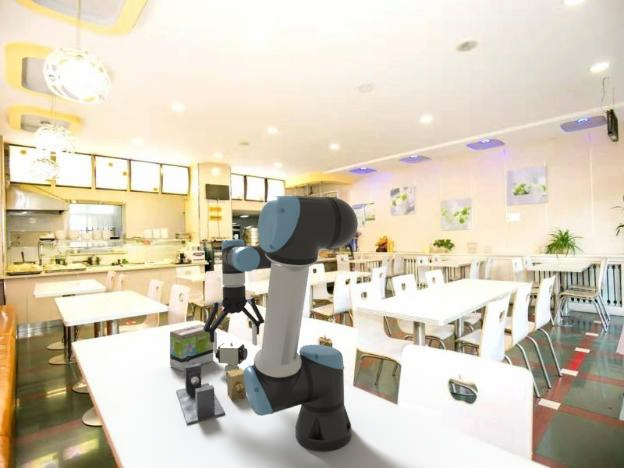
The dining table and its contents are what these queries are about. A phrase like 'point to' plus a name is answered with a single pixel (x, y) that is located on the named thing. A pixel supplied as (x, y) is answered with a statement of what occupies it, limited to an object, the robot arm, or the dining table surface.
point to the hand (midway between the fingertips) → (235, 348)
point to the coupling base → (198, 397)
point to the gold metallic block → (236, 384)
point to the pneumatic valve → (231, 355)
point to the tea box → (190, 347)
